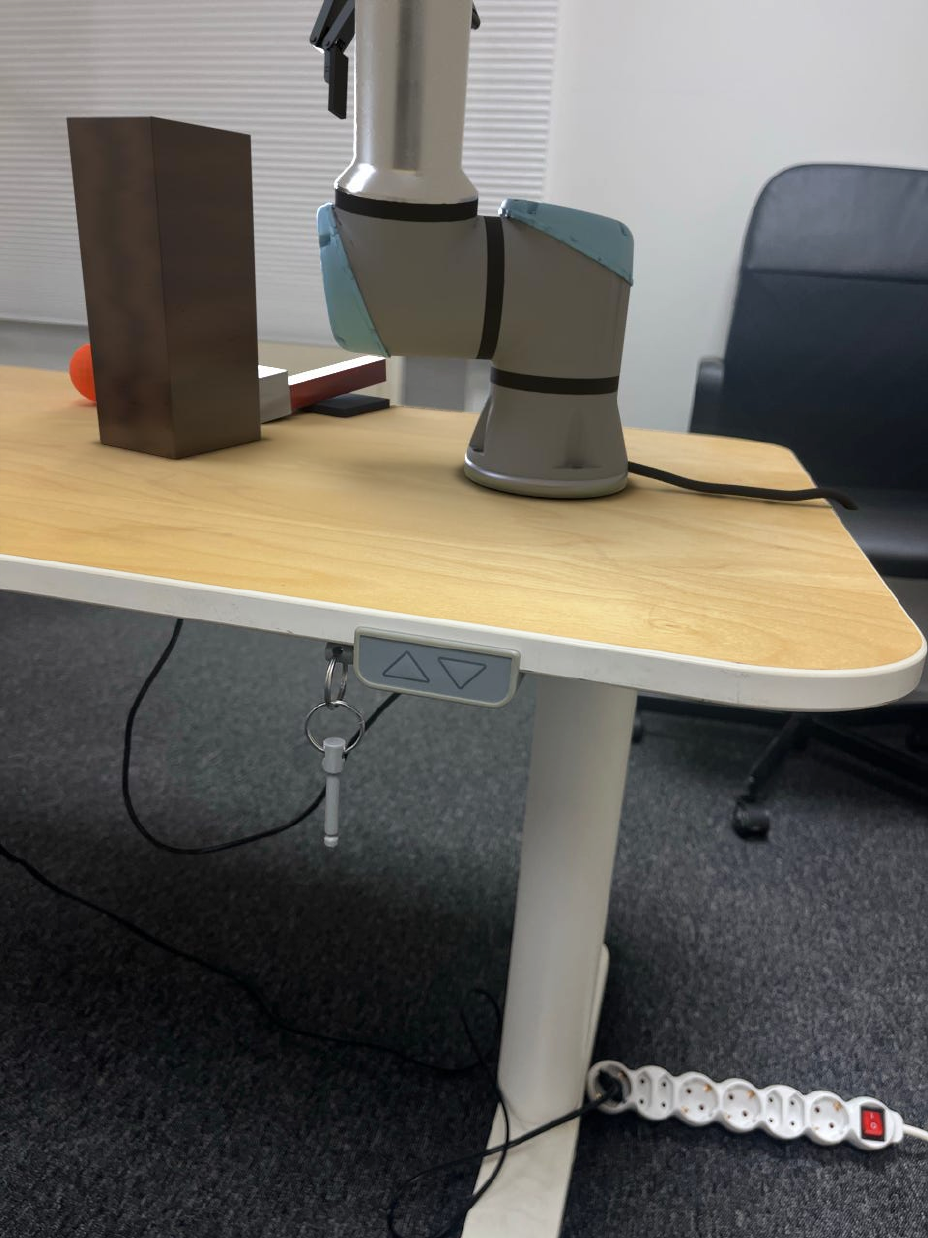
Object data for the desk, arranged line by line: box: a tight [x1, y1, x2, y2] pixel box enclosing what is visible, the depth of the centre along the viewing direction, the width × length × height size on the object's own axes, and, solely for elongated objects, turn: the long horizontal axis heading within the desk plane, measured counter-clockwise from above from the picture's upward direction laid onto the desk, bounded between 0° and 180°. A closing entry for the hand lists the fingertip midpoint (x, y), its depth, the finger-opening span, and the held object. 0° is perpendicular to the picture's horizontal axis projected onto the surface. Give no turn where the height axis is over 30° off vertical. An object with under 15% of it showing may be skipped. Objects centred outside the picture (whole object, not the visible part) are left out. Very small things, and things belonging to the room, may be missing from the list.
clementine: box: [68, 342, 96, 403], centre depth 104 cm, size 8×7×7 cm
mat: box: [297, 392, 391, 418], centre depth 114 cm, size 18×10×1 cm, turn 61°
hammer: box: [259, 355, 387, 424], centre depth 108 cm, size 5×24×5 cm, turn 146°
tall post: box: [65, 115, 262, 460], centre depth 84 cm, size 10×12×28 cm
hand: (388, 108), depth 99 cm, fingers open, 13 cm apart
